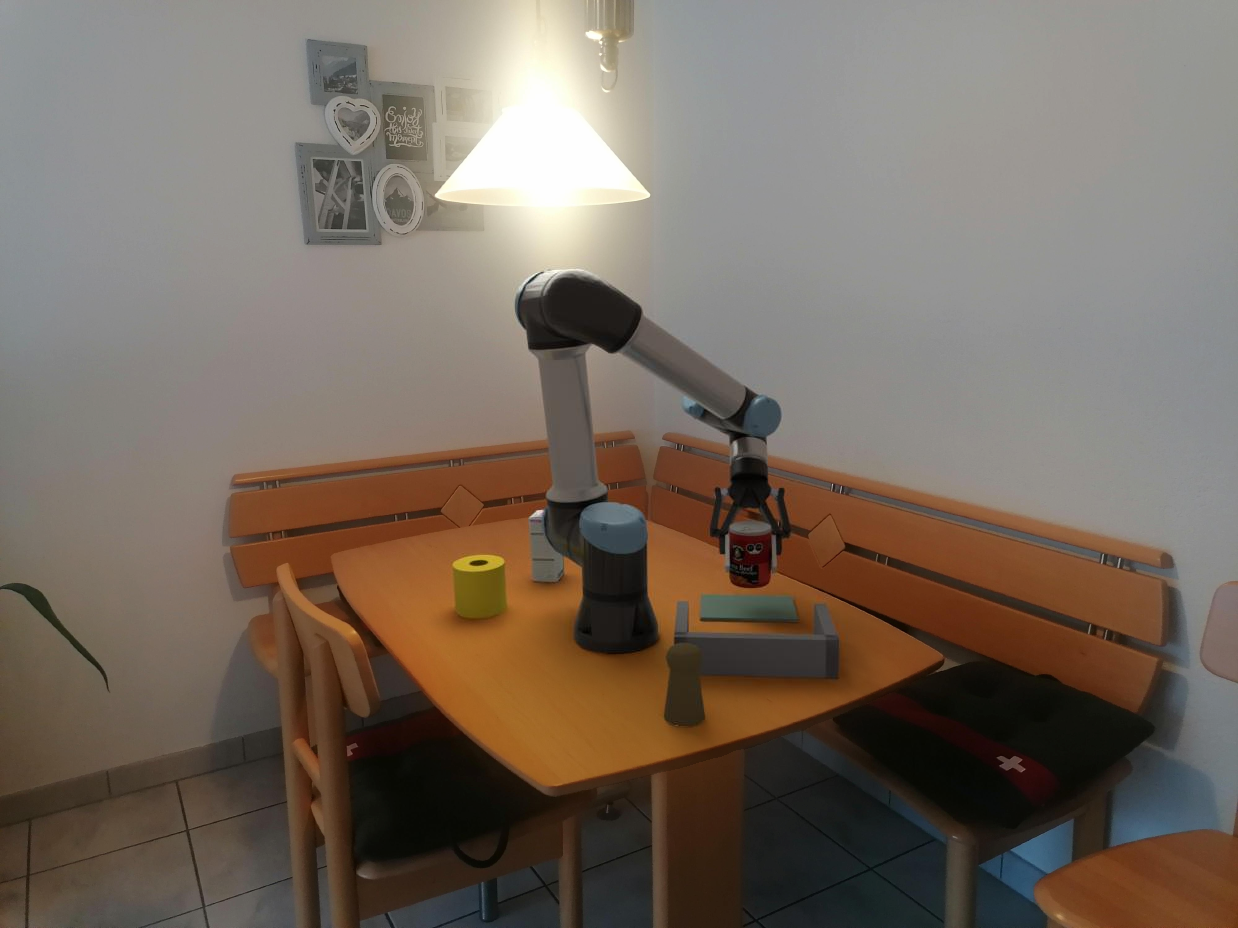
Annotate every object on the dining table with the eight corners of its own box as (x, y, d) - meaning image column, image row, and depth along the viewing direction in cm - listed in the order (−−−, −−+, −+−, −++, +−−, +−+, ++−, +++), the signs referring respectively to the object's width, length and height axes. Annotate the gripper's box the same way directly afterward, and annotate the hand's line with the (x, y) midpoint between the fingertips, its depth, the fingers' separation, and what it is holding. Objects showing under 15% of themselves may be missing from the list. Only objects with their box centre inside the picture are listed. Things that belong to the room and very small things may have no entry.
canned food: (720, 582, 162) (721, 526, 159) (746, 571, 167) (747, 517, 165) (753, 592, 157) (753, 535, 154) (779, 580, 162) (780, 525, 159)
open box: (674, 674, 138) (674, 636, 137) (677, 635, 153) (677, 601, 152) (838, 678, 135) (839, 640, 134) (825, 638, 150) (826, 603, 149)
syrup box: (557, 582, 181) (555, 517, 178) (531, 581, 182) (528, 516, 179) (564, 573, 186) (562, 509, 183) (538, 572, 188) (536, 509, 184)
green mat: (700, 620, 159) (700, 617, 159) (700, 596, 171) (700, 594, 171) (797, 622, 158) (797, 619, 157) (791, 598, 169) (791, 595, 169)
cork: (681, 731, 120) (681, 659, 118) (655, 714, 125) (654, 645, 123) (713, 718, 124) (713, 647, 122) (686, 702, 129) (686, 634, 126)
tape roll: (498, 595, 174) (496, 551, 172) (513, 612, 165) (510, 566, 163) (450, 604, 170) (447, 559, 168) (462, 621, 161) (459, 574, 159)
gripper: (800, 475, 172) (806, 578, 160) (696, 475, 174) (695, 577, 162) (803, 455, 165) (809, 561, 153) (696, 455, 168) (694, 559, 156)
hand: (750, 569), depth 158 cm, fingers closed on canned food, 8 cm apart
